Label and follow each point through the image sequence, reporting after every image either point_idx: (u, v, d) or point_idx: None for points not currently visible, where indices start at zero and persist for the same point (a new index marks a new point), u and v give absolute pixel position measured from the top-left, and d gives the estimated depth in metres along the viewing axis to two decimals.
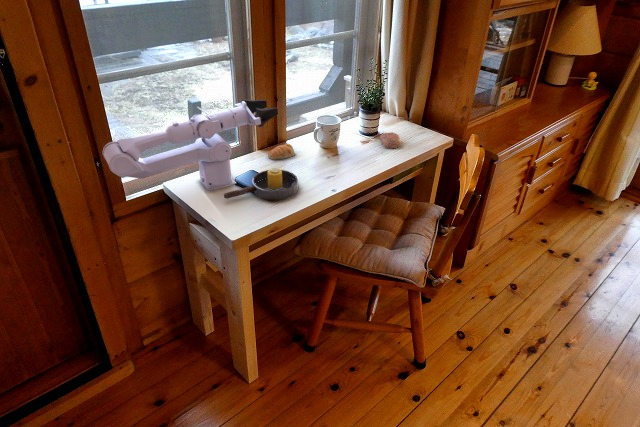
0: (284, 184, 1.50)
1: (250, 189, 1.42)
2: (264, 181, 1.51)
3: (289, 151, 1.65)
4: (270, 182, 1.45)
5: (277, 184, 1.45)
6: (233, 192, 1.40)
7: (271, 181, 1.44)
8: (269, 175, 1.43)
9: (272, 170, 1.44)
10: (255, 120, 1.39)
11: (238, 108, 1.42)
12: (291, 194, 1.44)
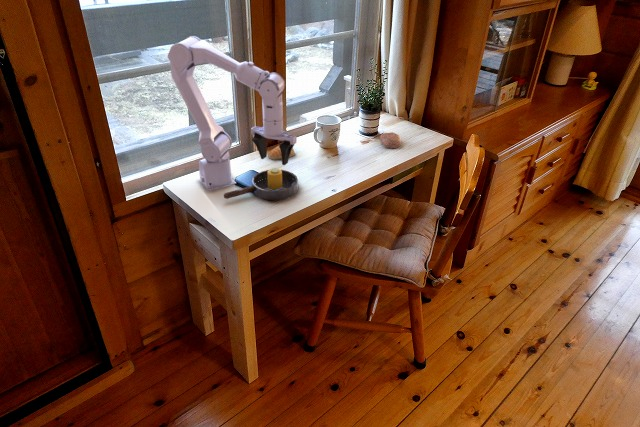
0: (284, 184, 1.50)
1: (250, 189, 1.42)
2: (264, 181, 1.51)
3: None
4: (270, 182, 1.45)
5: (277, 184, 1.45)
6: (233, 192, 1.40)
7: (271, 181, 1.44)
8: (269, 175, 1.43)
9: (272, 170, 1.44)
10: (295, 137, 1.35)
11: None
12: (291, 194, 1.44)
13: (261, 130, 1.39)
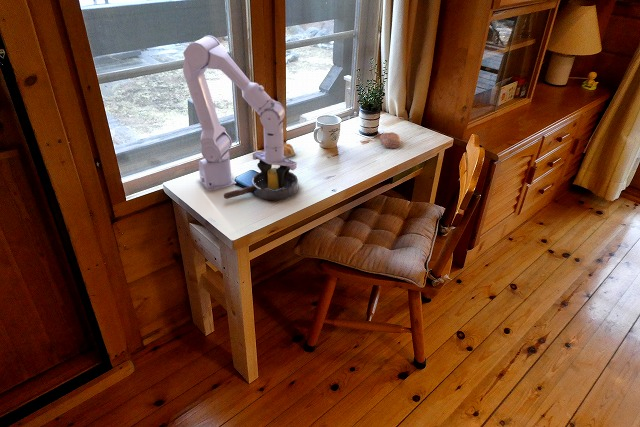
0: None
1: (250, 189, 1.42)
2: (264, 181, 1.51)
3: (289, 151, 1.65)
4: (270, 182, 1.45)
5: (277, 184, 1.45)
6: (233, 192, 1.40)
7: (271, 181, 1.44)
8: (269, 175, 1.43)
9: (272, 170, 1.44)
10: (295, 163, 1.40)
11: None
12: (291, 194, 1.44)
13: (262, 155, 1.44)
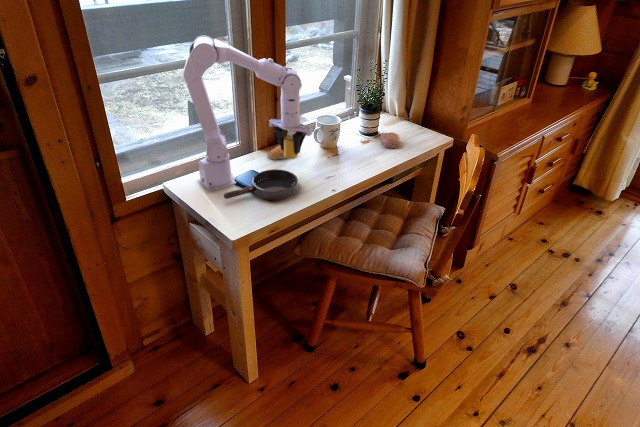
0: (284, 184, 1.50)
1: (250, 189, 1.42)
2: (264, 181, 1.51)
3: None
4: (286, 148, 1.48)
5: (293, 150, 1.49)
6: (233, 192, 1.40)
7: (287, 147, 1.48)
8: (285, 141, 1.47)
9: (288, 137, 1.48)
10: (311, 129, 1.44)
11: None
12: (291, 194, 1.44)
13: (279, 122, 1.47)
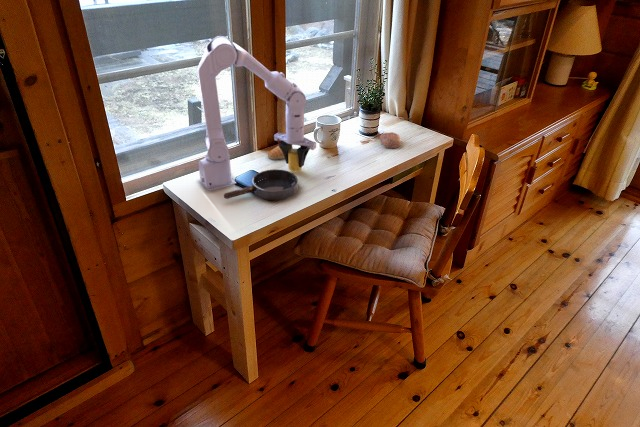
0: (284, 184, 1.50)
1: (250, 189, 1.42)
2: (264, 181, 1.51)
3: None
4: (290, 162, 1.54)
5: (297, 163, 1.54)
6: (233, 192, 1.40)
7: (292, 160, 1.53)
8: (290, 155, 1.53)
9: (292, 150, 1.53)
10: (315, 143, 1.49)
11: None
12: (291, 194, 1.44)
13: (283, 136, 1.53)
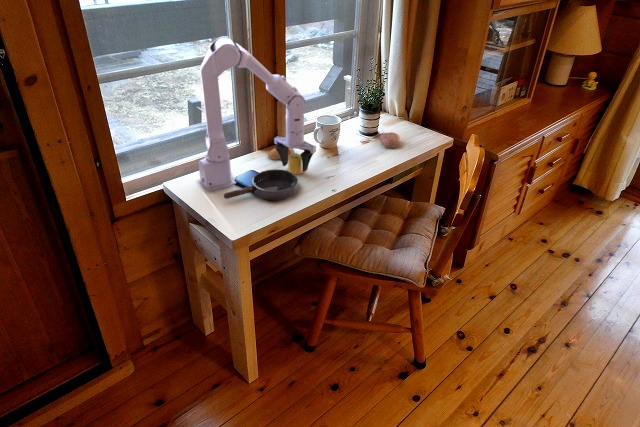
0: (284, 184, 1.50)
1: (250, 189, 1.42)
2: (264, 181, 1.51)
3: (289, 151, 1.65)
4: (291, 166, 1.55)
5: (297, 168, 1.55)
6: (233, 192, 1.40)
7: (292, 165, 1.54)
8: (290, 159, 1.54)
9: (293, 155, 1.54)
10: (315, 147, 1.50)
11: None
12: (291, 194, 1.44)
13: (283, 140, 1.53)
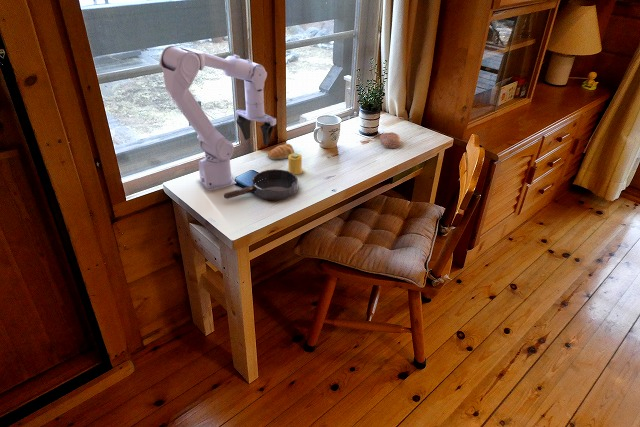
0: (284, 184, 1.50)
1: (250, 189, 1.42)
2: (264, 181, 1.51)
3: (289, 151, 1.65)
4: (291, 166, 1.55)
5: (297, 168, 1.55)
6: (233, 192, 1.40)
7: (292, 165, 1.54)
8: (290, 159, 1.54)
9: (293, 155, 1.54)
10: (275, 119, 1.49)
11: None
12: (291, 194, 1.44)
13: (244, 113, 1.52)
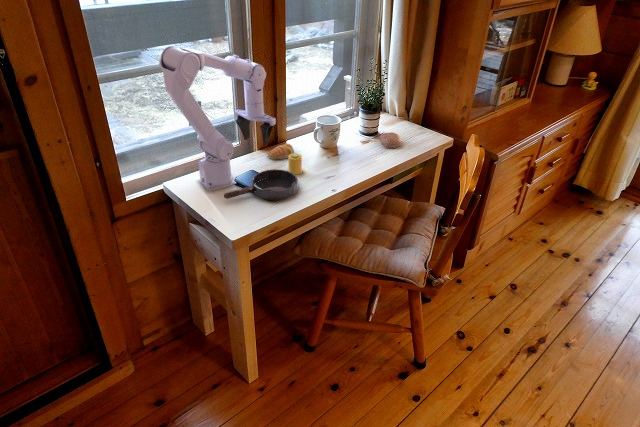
0: (284, 184, 1.50)
1: (250, 189, 1.42)
2: (264, 181, 1.51)
3: (289, 151, 1.65)
4: (291, 166, 1.55)
5: (297, 168, 1.55)
6: (233, 192, 1.40)
7: (292, 165, 1.54)
8: (290, 159, 1.54)
9: (293, 155, 1.54)
10: (275, 119, 1.49)
11: None
12: (291, 194, 1.44)
13: (244, 113, 1.52)
